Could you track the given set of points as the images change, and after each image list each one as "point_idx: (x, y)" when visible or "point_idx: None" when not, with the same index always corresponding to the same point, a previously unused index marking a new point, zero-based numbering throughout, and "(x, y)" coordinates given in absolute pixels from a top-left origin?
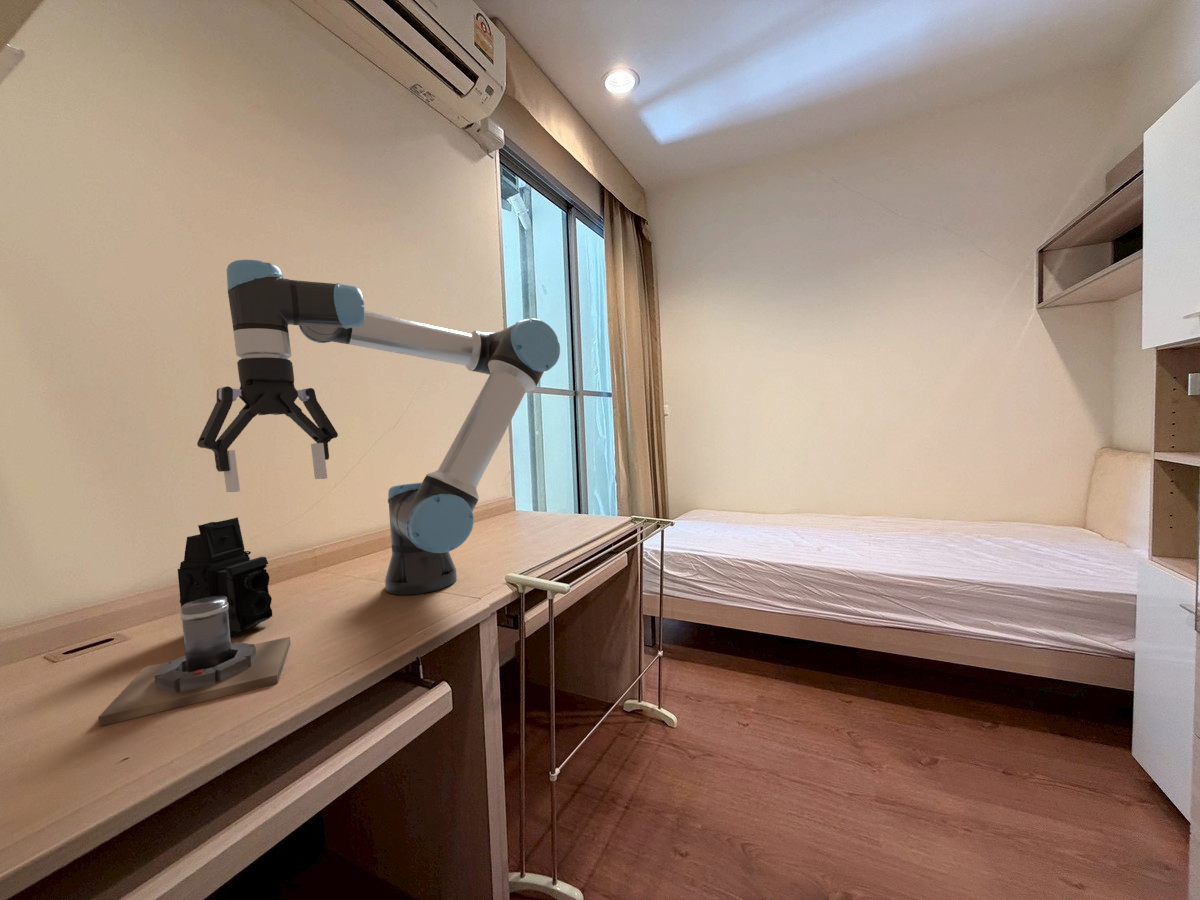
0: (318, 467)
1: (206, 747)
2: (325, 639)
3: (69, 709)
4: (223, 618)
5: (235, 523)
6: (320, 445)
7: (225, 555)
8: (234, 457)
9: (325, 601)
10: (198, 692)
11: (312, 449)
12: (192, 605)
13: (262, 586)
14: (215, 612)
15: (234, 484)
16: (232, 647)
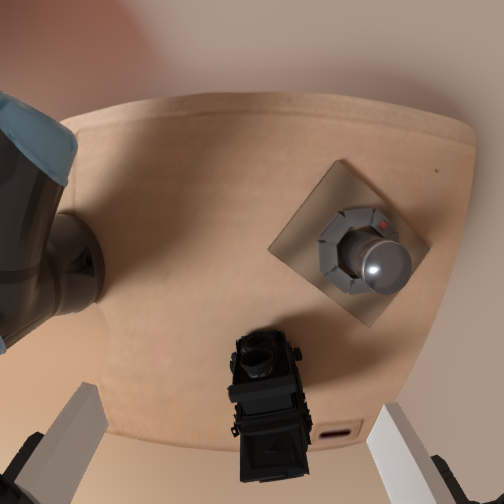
0: (84, 432)
1: (409, 122)
2: (241, 215)
3: (415, 308)
4: (372, 241)
5: (247, 471)
6: (30, 481)
7: (275, 426)
8: (434, 488)
9: (161, 340)
10: (386, 206)
11: (66, 501)
12: (402, 271)
13: (250, 356)
14: (387, 240)
15: (404, 418)
16: (334, 260)
